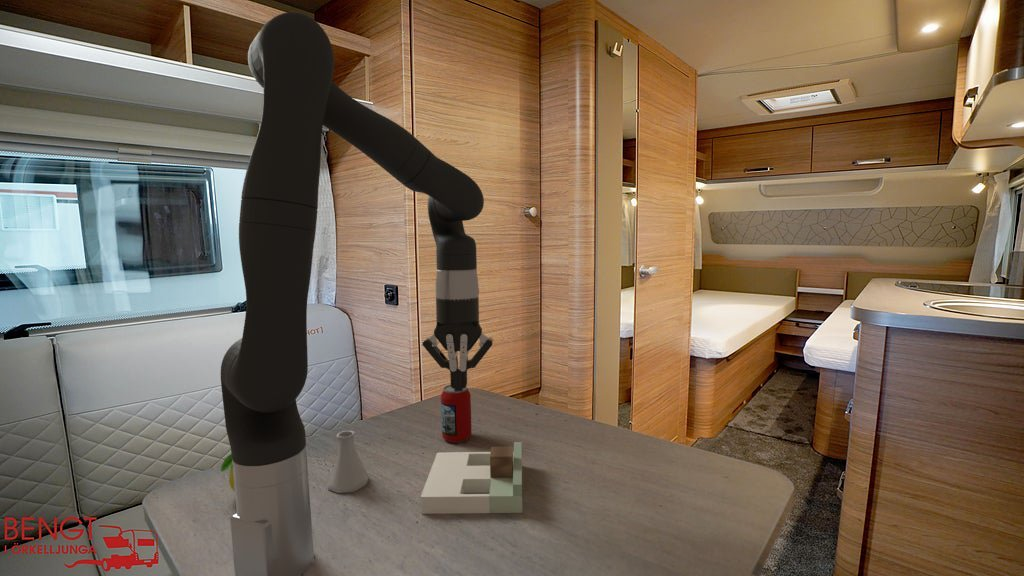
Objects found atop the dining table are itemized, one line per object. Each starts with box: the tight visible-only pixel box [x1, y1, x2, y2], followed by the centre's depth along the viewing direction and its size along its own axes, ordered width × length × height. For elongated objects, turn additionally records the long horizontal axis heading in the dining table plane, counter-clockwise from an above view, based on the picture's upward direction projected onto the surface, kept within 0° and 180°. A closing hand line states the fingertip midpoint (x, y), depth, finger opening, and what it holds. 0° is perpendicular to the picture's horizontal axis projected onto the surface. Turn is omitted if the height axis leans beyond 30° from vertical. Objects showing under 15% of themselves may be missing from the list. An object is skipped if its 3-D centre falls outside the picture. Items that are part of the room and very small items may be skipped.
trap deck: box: [420, 441, 523, 515], centre depth 89 cm, size 17×16×5 cm
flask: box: [327, 430, 370, 494], centre depth 91 cm, size 7×7×10 cm
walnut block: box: [490, 446, 514, 478], centre depth 88 cm, size 4×4×4 cm
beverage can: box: [440, 384, 472, 444], centre depth 110 cm, size 7×7×12 cm
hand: (459, 390), depth 87 cm, fingers closed
